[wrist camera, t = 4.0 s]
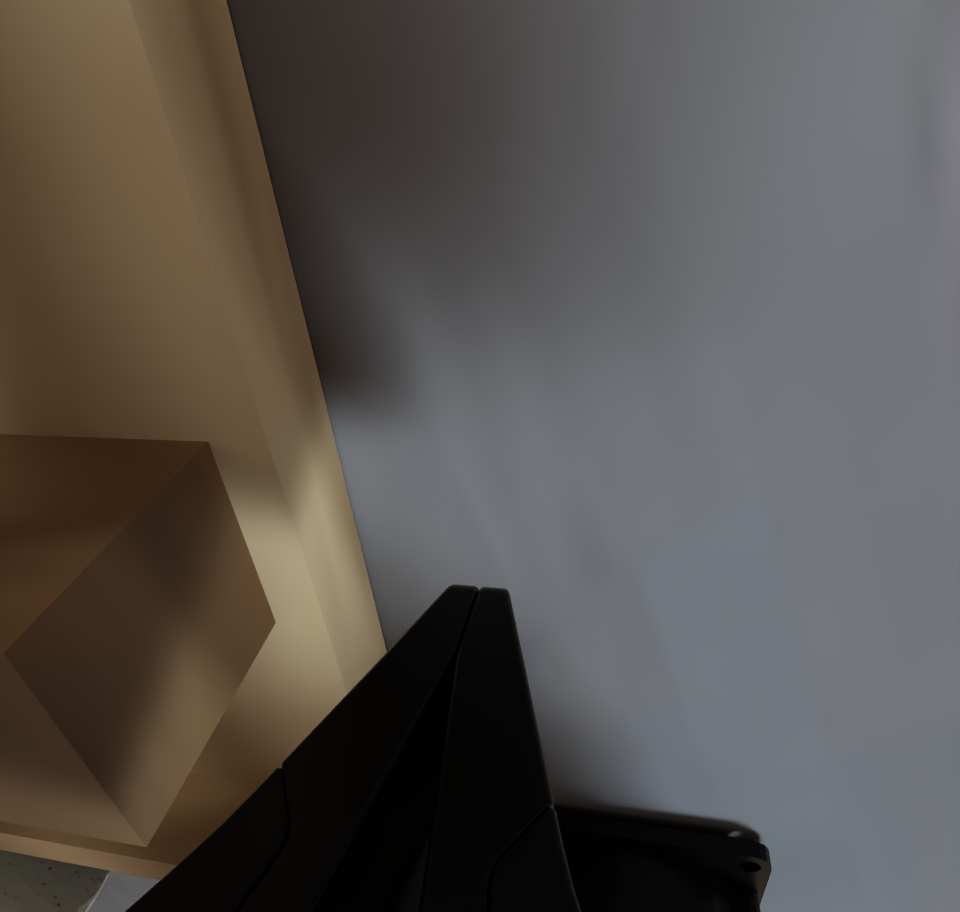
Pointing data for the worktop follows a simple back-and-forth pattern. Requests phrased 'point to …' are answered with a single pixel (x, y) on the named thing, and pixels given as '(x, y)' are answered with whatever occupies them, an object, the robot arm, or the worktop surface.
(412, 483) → the worktop surface
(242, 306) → the track
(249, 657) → the walnut block
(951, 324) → the worktop surface
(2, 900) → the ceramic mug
